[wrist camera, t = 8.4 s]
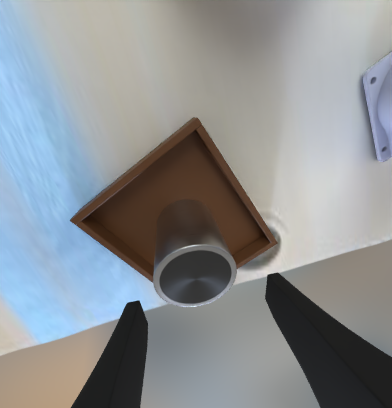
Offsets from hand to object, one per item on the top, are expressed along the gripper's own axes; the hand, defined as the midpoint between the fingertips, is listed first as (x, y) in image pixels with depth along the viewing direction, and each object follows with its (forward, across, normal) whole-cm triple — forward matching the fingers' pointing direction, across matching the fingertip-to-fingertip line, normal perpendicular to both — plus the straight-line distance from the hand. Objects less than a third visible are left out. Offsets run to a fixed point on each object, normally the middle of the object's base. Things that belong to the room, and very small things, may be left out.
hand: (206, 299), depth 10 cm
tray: (+10, 0, +1) cm, 10 cm away
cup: (+9, 0, +1) cm, 9 cm away
